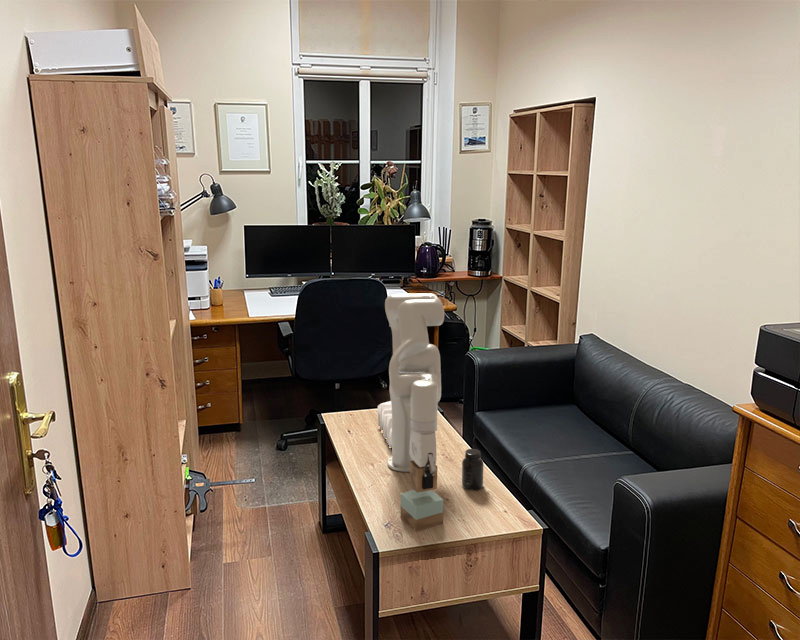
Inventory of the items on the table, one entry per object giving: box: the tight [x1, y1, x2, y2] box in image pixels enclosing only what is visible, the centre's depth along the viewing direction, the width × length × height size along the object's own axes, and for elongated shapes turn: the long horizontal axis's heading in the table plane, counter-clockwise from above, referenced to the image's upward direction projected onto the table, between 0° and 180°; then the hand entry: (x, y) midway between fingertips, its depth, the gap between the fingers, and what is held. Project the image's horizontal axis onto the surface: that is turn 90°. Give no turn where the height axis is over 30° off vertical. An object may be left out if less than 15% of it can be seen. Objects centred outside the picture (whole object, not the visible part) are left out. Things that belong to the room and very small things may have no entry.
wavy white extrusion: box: [377, 400, 392, 449], centre depth 250 cm, size 35×16×11 cm, turn 10°
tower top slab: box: [400, 489, 444, 520], centre depth 188 cm, size 9×9×4 cm
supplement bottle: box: [461, 448, 484, 491], centre depth 209 cm, size 7×7×12 cm
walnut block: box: [409, 460, 438, 493], centre depth 186 cm, size 6×6×7 cm
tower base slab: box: [400, 506, 444, 532], centre depth 189 cm, size 9×9×4 cm
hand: (423, 482), depth 187 cm, fingers closed on walnut block, 6 cm apart
